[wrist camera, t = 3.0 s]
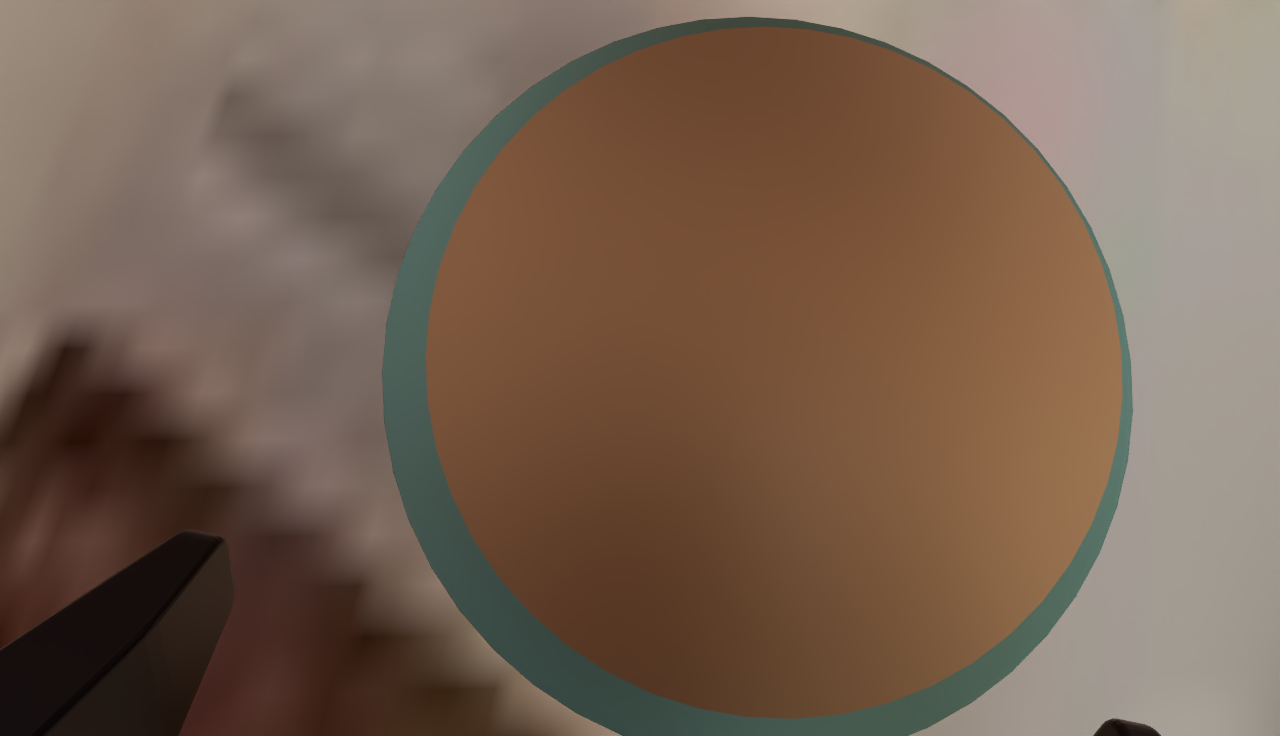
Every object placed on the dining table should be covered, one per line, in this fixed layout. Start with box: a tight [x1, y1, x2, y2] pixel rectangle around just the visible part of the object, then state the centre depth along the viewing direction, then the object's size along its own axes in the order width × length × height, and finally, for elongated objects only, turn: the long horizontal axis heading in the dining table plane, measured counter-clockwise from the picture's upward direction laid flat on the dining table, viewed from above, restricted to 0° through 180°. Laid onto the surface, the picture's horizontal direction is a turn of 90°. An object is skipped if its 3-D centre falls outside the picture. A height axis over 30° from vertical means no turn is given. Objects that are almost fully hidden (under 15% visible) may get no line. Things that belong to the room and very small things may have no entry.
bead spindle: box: [382, 17, 1133, 736], centre depth 13 cm, size 6×6×14 cm
